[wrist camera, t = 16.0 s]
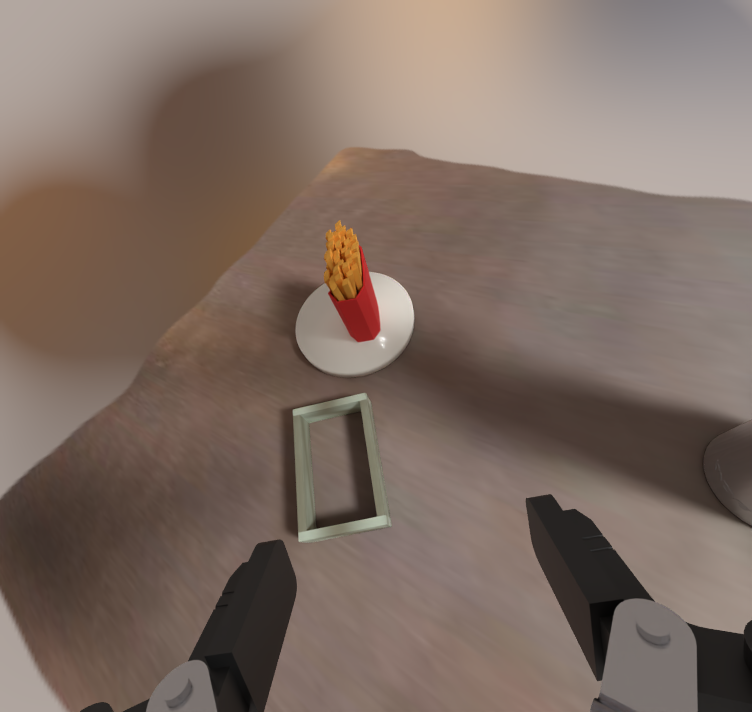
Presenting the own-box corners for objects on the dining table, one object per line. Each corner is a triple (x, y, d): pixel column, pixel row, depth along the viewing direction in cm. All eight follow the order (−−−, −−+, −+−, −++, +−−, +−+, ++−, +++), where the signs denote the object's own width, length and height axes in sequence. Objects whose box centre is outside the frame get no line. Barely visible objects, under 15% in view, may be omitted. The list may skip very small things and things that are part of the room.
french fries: (347, 296, 49) (315, 221, 38) (377, 290, 49) (354, 212, 38) (350, 353, 45) (315, 287, 34) (384, 348, 44) (359, 278, 33)
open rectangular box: (370, 402, 43) (365, 392, 40) (391, 526, 36) (386, 524, 33) (302, 418, 44) (292, 409, 41) (309, 542, 37) (298, 541, 34)
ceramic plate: (401, 266, 52) (400, 259, 51) (427, 360, 44) (426, 355, 43) (296, 294, 54) (292, 287, 52) (302, 390, 45) (298, 385, 44)
